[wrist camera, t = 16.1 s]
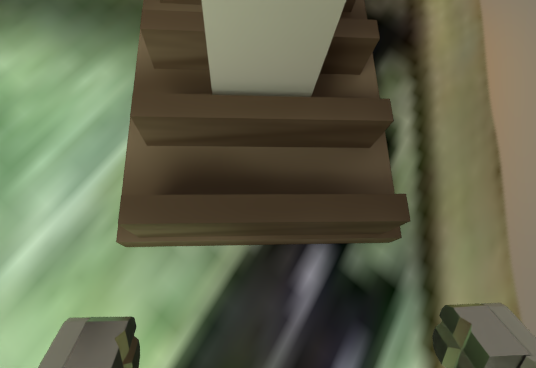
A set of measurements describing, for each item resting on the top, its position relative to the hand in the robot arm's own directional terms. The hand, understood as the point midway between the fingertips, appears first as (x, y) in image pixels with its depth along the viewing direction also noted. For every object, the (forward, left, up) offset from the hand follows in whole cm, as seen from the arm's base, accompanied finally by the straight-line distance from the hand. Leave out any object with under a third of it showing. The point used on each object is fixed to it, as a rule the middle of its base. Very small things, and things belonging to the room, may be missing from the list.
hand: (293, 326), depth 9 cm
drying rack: (-10, +6, -8) cm, 14 cm away
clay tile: (-10, +6, -7) cm, 13 cm away
